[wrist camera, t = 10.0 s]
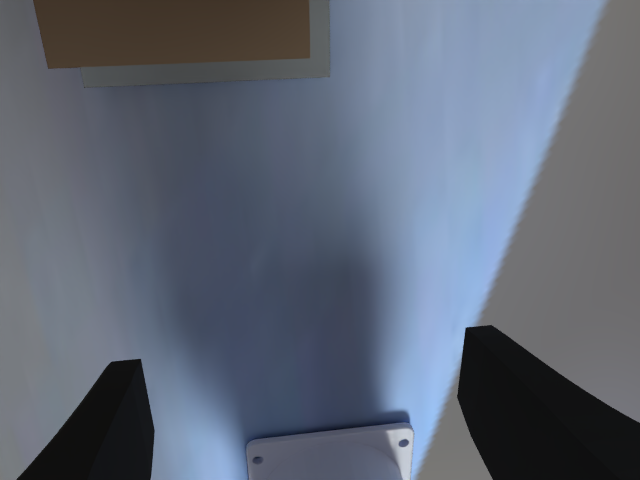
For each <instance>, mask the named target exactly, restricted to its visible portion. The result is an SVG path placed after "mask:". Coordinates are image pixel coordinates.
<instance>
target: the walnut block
mask: <svg viewBox="0 0 640 480" xmlns="http://www.w3.org/2000/svg"><path fill="white" fill-rule="evenodd" d="M33 2H34V6H35V11H36V15H37V20H38V24H39V29H40V34H41V38H42V43H43V47H44V52H45V56H46V61H47V65H48V69H51V68H77V67H102V66H128V65H154V64H179V63H205V62H230V61H256V60H282V59H307V58H310V14H309V0H33Z"/></svg>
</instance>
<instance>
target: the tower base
mask: <svg viewBox="0 0 640 480" xmlns="http://www.w3.org/2000/svg"><path fill="white" fill-rule="evenodd" d="M309 14H310V58H307V59H282V60H256V61H230V62H205V63H179V64H154V65H128V66H102V67H80V69H81V74H82V79H83V84H84V88H90V87H113V86H136V85H159V84H182V83H205V82H228V81H251V80H274V79H298V78H321V77H330V19H329V0H309Z"/></svg>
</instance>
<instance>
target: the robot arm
mask: <svg viewBox="0 0 640 480" xmlns="http://www.w3.org/2000/svg"><path fill="white" fill-rule="evenodd" d="M457 398H458V401H459V404H460V406H461V409H462V412H463V415H464V418H465V421H466V423H467V426H468V429H469V432H470V434H471V437H472V439H473V441H474V443H475V445H476V447H477V449H478V451H479V453H480V455H481V457H482V459H483V461H484V463H485V465H486V467H487V469H488V471H489V473H490V475H491V477H492V479H493V480H640V423H639V422H637V421H635V420H633V419H631V418H629V417H628V416H626V415H624V414H622V413H620V412H619V411H617V410H615V409H614V408H612V407H610V406H609V405H607V404H605V403H604V402H602V401H601V400H599V399H597V398H596V397H594V396H593V395H591V394H589V393H588V392H586V391H585V390H583V389H581V388H580V387H579V386H577V385H575V384H574V383H572V382H571V381H569V380H568V379H567V378H565V377H564V376H562V375H561V374H559V373H558V372H556V371H555V370H554V369H552V368H550V367H549V366H548V365H546V364H545V363H544V362H542V361H541V360H539V359H538V358H537V357H535V356H534V355H533V354H531V353H530V352H528V351H527V350H526V349H524V348H523V347H522V346H520V345H519V344H517V343H516V342H514V341H513V340H512V339H511V338H509V337H508V336H506V335H505V334H503V333H502V332H501V331H499V330H498V329H496V328H495V327H493V326H492V325H488V326H478V327H467V328H466V330H465V338H464V346H463V354H462V362H461V370H460V379H459V387H458V395H457ZM403 439H405V440H403ZM401 440H403V441H401ZM413 442H414V430H413V428H412V426H411V425H410V424H409V423H404V422H402V423H394V424H385V425H376V426H367V427H359V428H350V429H341V430H332V431H324V432H315V433H306V434H297V435H289V436H280V437H271V438H262V439H255V440H252V441H250V442H249V443H248V444H247V447H246V454H247V464H248V475H249V480H410V479H411V466H412V454H413ZM153 445H154V425H153V420H152V415H151V410H150V404H149V399H148V394H147V389H146V384H145V378H144V373H143V368H142V363H141V359H135V360H124V361H114V362H111V363H110V364H109V365H108V366H107V367H106V368H105V370H104V371H103V373H102V374H101V375H100V377H99V378H98V380H97V381H96V382H95V384H94V385H93V387H92V388H91V389H90V391H89V392H88V394H87V395H86V396H85V398H84V399H83V400H82V402H81V403H80V404H79V406H78V407H77V408H76V410H75V411H74V412H73V413H72V415H71V416H70V417H69V419H68V420H67V421H66V422H65V424H64V425H63V426H62V427H61V429H60V430H59V431H58V433H57V434H56V435H55V436H54V437H53V439H52V440H51V441H50V442H49V443H48V445H47V446H46V447H45V448H44V449H43V450H42V451H41V453H40V454H39V455H38V456H37V457H36V458H35V460H34V461H33V462H32V463H31V464H30V465H29V466H28V468H27V469H26V470H25V471H24V472H23V473H22V474H21V475H20V476H19V477H18V478H17V479H16V480H150V478H151V470H152V459H153ZM257 456H259V457H260V458H255V457H257Z"/></svg>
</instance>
